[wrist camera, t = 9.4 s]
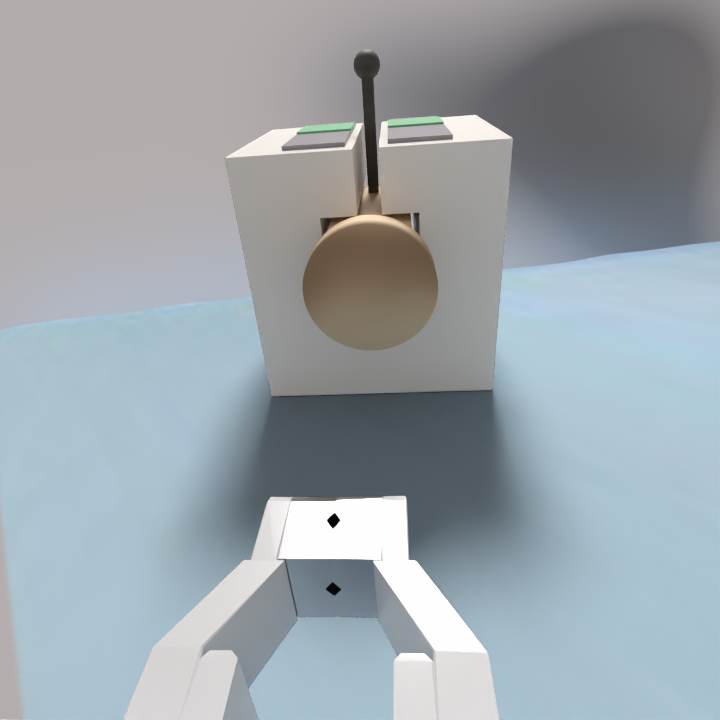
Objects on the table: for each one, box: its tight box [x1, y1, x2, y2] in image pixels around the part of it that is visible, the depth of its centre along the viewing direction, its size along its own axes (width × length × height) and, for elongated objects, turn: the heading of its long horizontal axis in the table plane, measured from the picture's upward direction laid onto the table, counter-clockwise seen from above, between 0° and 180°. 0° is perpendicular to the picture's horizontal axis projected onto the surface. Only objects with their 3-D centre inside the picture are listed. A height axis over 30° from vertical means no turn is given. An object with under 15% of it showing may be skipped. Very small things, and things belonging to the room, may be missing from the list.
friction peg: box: [302, 49, 438, 351], centre depth 26 cm, size 12×6×12 cm, turn 177°
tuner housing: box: [225, 115, 513, 396], centre depth 30 cm, size 11×13×14 cm
